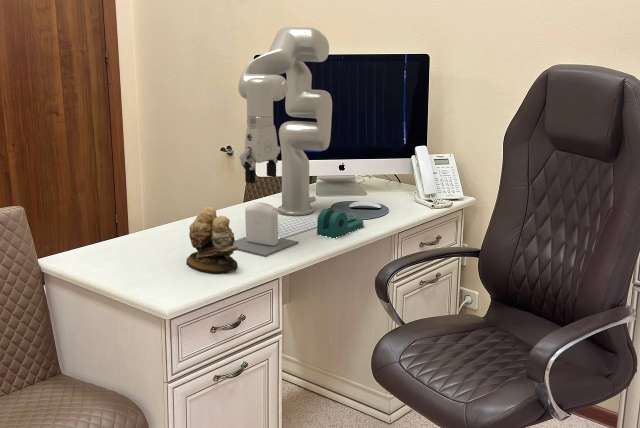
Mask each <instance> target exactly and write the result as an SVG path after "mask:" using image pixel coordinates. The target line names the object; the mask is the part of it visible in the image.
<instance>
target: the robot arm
mask: <svg viewBox="0 0 640 428" xmlns="http://www.w3.org/2000/svg"><path fill="white" fill-rule="evenodd" d="M329 53H330V44H329V40H328V38H327V37H326V35H324V34H323V33H322V32H321V31H320V30H318V29H316V28H314V27H307V26H305V27H302V26H301V27H297V26H293V27H292V26H288V27H287V26H286V27H283V28H280V30H278V31H277V32H276V34H275V36H274V39H273V41H272V43H271V45H270V47H269V50H268V51H267V52H265V53H263V54H261V55H259V56H258V57H256V58H254V59H252V60H250V62H249V63H247V64H246V66H245V67H244V69H243V71H242V73H241V76H240V78H239V81H238V93H239V95H240V97H241V98H243V99H244V100H246V130H245V135H244V137H245V138H244V151H243V152H242V153H241V154H240V155H239V160H240V164H241V166H242V168H243V170H244V174H245V178H244V179H245V180H244V182H245V183H248V184H255V183H256V169H255V167H256V164H260V163H265V162H266V176H267V177H269V178H270V177H271V178H276V177H277V165H278V164H277V163H278V160H279V157H280V153H281V205H279V206H277V211H278V213H279V214H280V215H281V214H282V215H283V216H284V215H286V216H292V215H293V217H296V216H297V217H298V215H299V216H306V215H310V214H312V213H314V207H313V206H312V205H311V203H314V202H316V200H317V199H316V198H317V197H316V196H310V160H309V158H308V156H307V154H306V153H305V152H304V151H305V150H306V151H326V150H327V149H328V148H329V146H330V143H331V135H332V134H331V131H332V118H333V116H332V115H333V113H332V112H333V101H332V100H333V99H332V96H331V94H330V93H329V92H328V91H326V90H323V89H312V80H313V79H312V78H313V76H312V73H311V71H310V68H309V67H308V66H307V65H306V64H305V63H306V62H313V63H322V62H325V61H326V60H327V59H328V56H329ZM282 74H286V78H285V77H284V76H283V75H282ZM284 98H285V102H284V103H285V112H286V114H287V115H288V116H289V117H293V118H306V119H307V118H309V119H316V122H315V121H301V120H300V121H297V120H291V121H290V120H289V121H286V122H283V123H282V124H281V125H280V127H279V129H278V136H277V130H276V126H275V124H274V102H278V101H281V100H283V99H284ZM278 137H279V139H278ZM278 140H279V144H280V145H278ZM250 163H251V164H250Z"/></svg>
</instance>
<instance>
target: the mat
mask: <svg viewBox="0 0 640 428" xmlns="http://www.w3.org/2000/svg"><path fill="white" fill-rule="evenodd" d="M299 243H300V241H297V240H293V239H288V238H283V237H280V239H278V243H277V245H274V246H271V245H264V244H258V243H252V242H247V241H246V236H243V237H242V238H238V239H235V242H234V243H233V246H237V250H236V251H239V252H243V253H246V254H247V253H248V254H252V255H255V256H260V257H263V258H266V257H269V256H271V255H273V254H277V253H279V252H281V251H284V250H286V249H289V248H291V247H294V246H296V245H298V244H299Z"/></svg>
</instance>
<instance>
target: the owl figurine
mask: <svg viewBox="0 0 640 428" xmlns="http://www.w3.org/2000/svg"><path fill="white" fill-rule="evenodd" d="M230 221H231V220H230V218H229V217H227V216H226V215H218V216H217V210H216V209H215V208H214V206H207V207H205V208H203V209H202V210H201V211H200V212H199V214H197V216H196V218H195V219H194V221H192V223H191V224H190V225H189V235H188V236H189V239H190V243H191V245H192V247H193V248H194V249H196V251H195V252H192V253H190V255H189V256H188V257H186V265H187V266H188V268H190V269H192V270H195V271H196V272H199V273H205V274H211V275H221V274H227V273H229V272H233V271H236V270H237V269H238V268H239V267H238V266H239V265H238V262H237V260H235V259H234V258H233V257H232V256H231V255H233V254H234V252H235V251H238V250H237V246H233V243H234V242H235V240H236V239H235V236H234V232H233V230H232V228H230Z"/></svg>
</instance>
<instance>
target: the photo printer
mask: <svg viewBox="0 0 640 428" xmlns="http://www.w3.org/2000/svg"><path fill="white" fill-rule="evenodd" d="M244 213H245V215H244V217H245V218H244V219H245V237H246V241H247V242H252V243H258V244H264V245H271V246H274V245H277V243H278V237H279V222H278V221H279V220H278V219H279V214H278V213H279V212H278V207H276V206H274V205H272V204H270V203H266V202H262V201H257V202H256V201H255V202H251V203H250V202H249V203H248V204H247V205H246V207H245V212H244Z"/></svg>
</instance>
